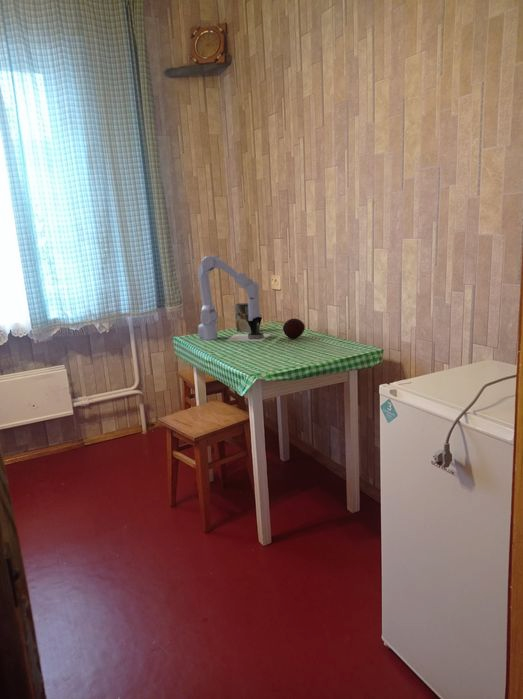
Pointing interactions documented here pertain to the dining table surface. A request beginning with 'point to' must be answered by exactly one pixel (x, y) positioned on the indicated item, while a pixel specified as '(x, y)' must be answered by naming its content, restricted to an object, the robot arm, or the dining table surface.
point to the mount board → (244, 338)
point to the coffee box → (242, 317)
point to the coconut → (293, 328)
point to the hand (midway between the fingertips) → (255, 332)
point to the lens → (256, 331)
